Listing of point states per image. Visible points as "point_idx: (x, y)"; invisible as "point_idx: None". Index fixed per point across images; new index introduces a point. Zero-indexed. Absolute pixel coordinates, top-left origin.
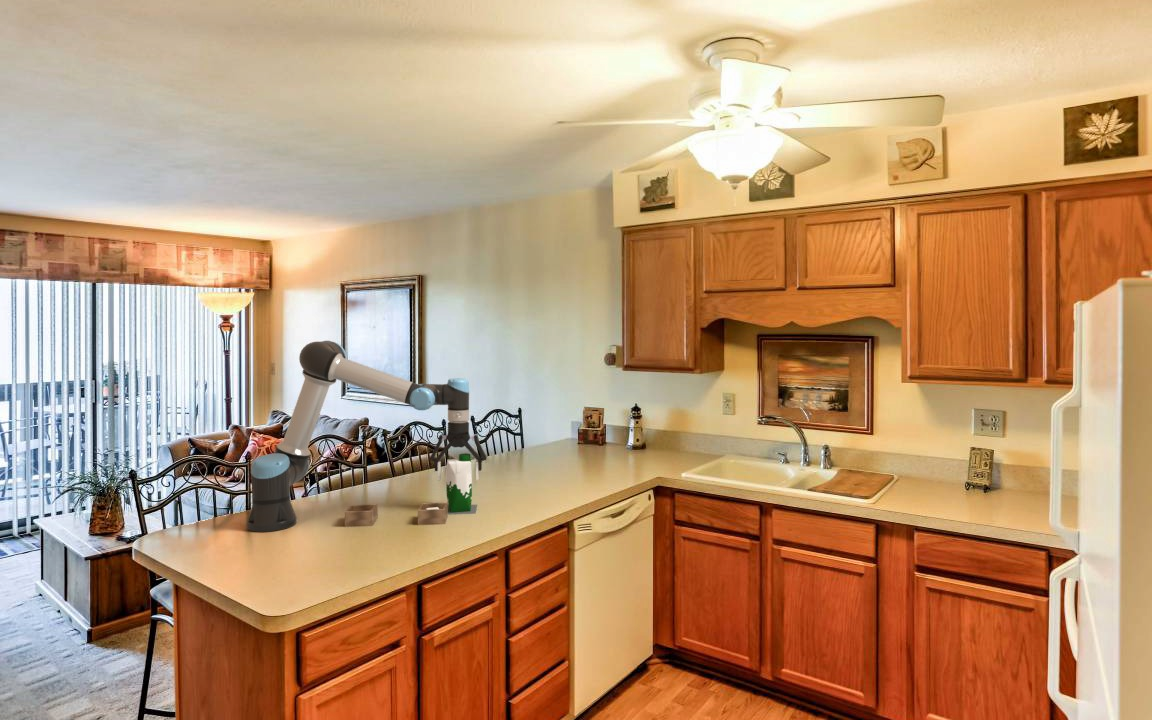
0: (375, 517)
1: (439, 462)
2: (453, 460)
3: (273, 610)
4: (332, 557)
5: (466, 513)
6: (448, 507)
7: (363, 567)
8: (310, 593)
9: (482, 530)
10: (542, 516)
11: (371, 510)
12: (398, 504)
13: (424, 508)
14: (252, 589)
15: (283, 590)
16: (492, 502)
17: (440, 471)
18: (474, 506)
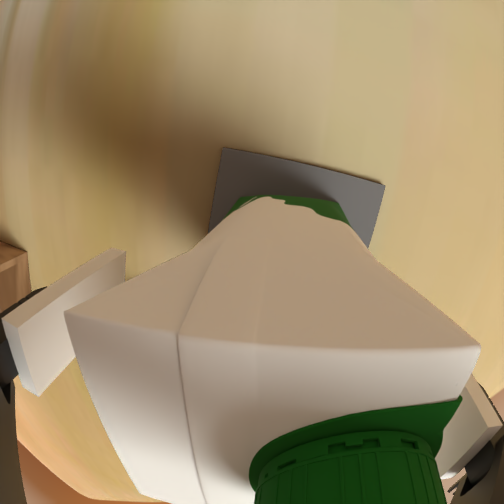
0: (19, 289)
1: (29, 381)
2: (171, 432)
3: (74, 488)
4: (50, 427)
5: None
6: (237, 189)
7: (104, 474)
8: (84, 485)
9: None
10: (497, 381)
11: None
12: (63, 69)
13: None
14: (32, 449)
15: (58, 467)
16: (454, 149)
17: (87, 292)
18: (365, 216)
